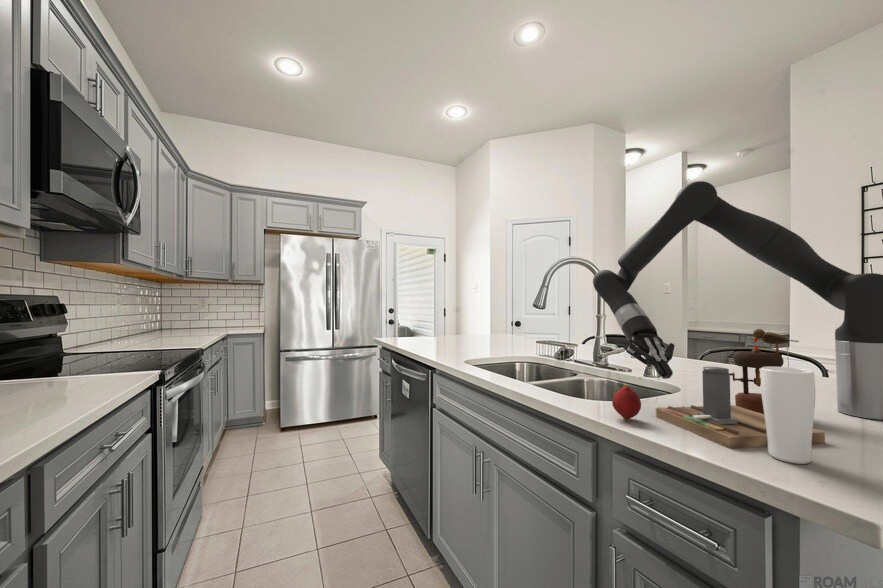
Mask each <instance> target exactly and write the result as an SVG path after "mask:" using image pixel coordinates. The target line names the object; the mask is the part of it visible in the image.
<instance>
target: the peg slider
mask: <svg viewBox="0 0 883 588" xmlns="http://www.w3.org/2000/svg"><path fill="white" fill-rule="evenodd" d="M702 367H703V368H702V369H703V370H702V373H701V374H702V406H703V413H697V415H694V416H692V418H695V419H701V418H704V419H707V420H709V421H712V422H715V423H717V424H738V419H735V418H732V417H731V405H732V404H731V375H730V372H729V370H730V369H729V368H726V367H720V366H719V367H718V366H702Z"/></svg>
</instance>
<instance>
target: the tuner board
mask: <svg viewBox="0 0 883 588" xmlns="http://www.w3.org/2000/svg"><path fill="white" fill-rule="evenodd" d="M697 413H703V405H701V406H698V405H697V406H696V405H694V404H692V405H690V406H675V407H674V406H671V405H669V406H668V407H656V408H655V417H656V418H658V419H660V420H663V421H665V422H667V423H670V424H672V425H674V424H675V425H674V426H676V427H679V428H681V429H684V430H686V431H688V430H689V432H691V433H693V434H695V433H696V435H697V434H698V436H701V437H702V438H705V439H707V440H709V441H712V442H714V443H717V444H719V445H721V446H723V447H726V448H728V449H741V448H742V449H743V448H760V447H762V448H763V447H768V440H767V432H766V424H765V417H764V414H761V413H758V412H755V411H751V410H748V409H744V408H741V407H738V406H736V405H733V404H731V417H732V418H735V419H738V424H717V423H715V422H712V421H709V420H707V419H704V418H701V419H695V418H692V416H694V415H697ZM825 434H826V433H825V431H822V430H818V429H814V428H813V432H812V445H815V444H816V443H817V444H826V435H825Z"/></svg>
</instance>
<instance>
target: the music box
mask: <svg viewBox="0 0 883 588" xmlns="http://www.w3.org/2000/svg"><path fill="white" fill-rule="evenodd" d="M752 335H753V337H754V339H753V344H755V343H756V342H757V341H758V340H760V339H761V340H762V342H764V343H765V344H770V345H775V351H774V353H773V352H762V351H761V348H760V346H759V345H757V346H755V345H753V348H752V350H751V351H736V352H735V353H734V354H733V359H732V360H733V362H734V363H735V365H736V366H737V367H741V369H742V377H740V378H736V377H735V376H736V374H735V372H732V373H730V372H729V373H730V376H732V381H733V382H735V381H738V382H741V383H742V387H743V392H738V393H737V394H735V395H734V396H735V397H734V399H735V406H738V407H741V408H744V409H748V410H751V411H755V412H758V413H761V414H764V410H763V402H762V395H761V393H759V392H758V393H757V392H749V382H751V383H753V384H754V385H756V386H755V387H758V388H761V368H762V367H769V366H772V367H784V366H783V365H784V362H785V361H784V360H785V359H784V358H783V356H782V355H781V351H780V350H779V345H784V344H785V346H786V351H787V356H789V347H790V346H788V345H787V343H789V342H795V343H799V342H800V341H799V340H792V339H789V338H787V337H785V336H784V335H781V334H778V333H776V332H771V331H767V332H765V330H763V329H760V328H757V329H754V330H753V332H752ZM789 364H790V363H789V358H787V367H789V368H790V365H789ZM748 368H751V369H752V368H754V372H755V377H753V379H749V372H748V371H749V369H748Z"/></svg>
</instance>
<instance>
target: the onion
mask: <svg viewBox="0 0 883 588" xmlns="http://www.w3.org/2000/svg"><path fill="white" fill-rule="evenodd" d="M621 386H622V388H619V389H618V390H616V391H615V393H614V394H613V397H612V400H611V402H612V404H611V405H612V407H613V409H614V410H615V412H616V413H617V414H618V415H620V417H622V418H623V419H624V420H626V421H629V420H630V419H633V418H634V417H636V416H637V415H638V414H639V413H640V411H641V407H642V400H641V398H640V397H639V394H638V393H637V392H636V391H635V390H634V389H632V388H631V387H630V386H629V385H628V384H625V383H624V384H622V385H621Z"/></svg>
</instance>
